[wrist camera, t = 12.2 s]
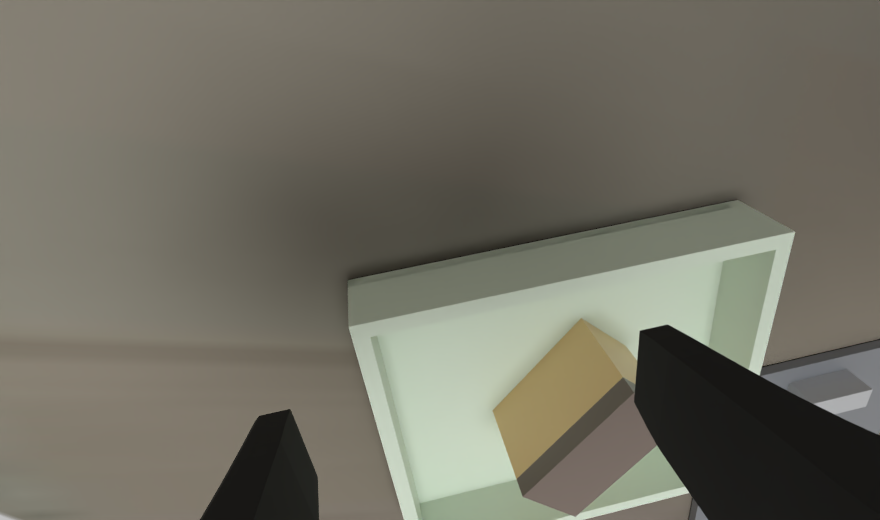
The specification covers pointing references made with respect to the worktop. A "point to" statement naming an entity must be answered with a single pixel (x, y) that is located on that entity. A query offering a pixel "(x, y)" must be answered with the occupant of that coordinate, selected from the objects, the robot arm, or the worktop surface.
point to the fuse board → (831, 386)
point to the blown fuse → (574, 421)
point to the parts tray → (548, 343)
